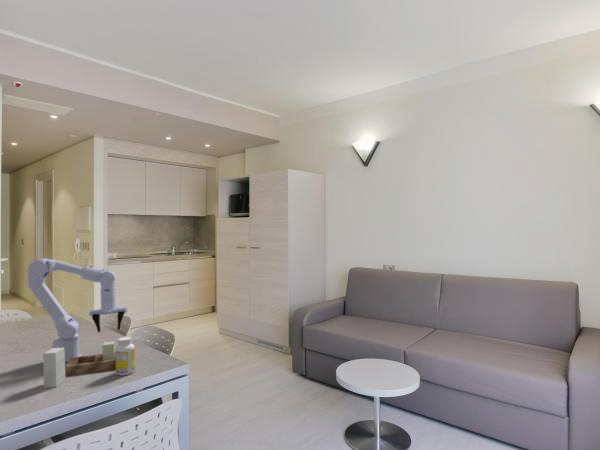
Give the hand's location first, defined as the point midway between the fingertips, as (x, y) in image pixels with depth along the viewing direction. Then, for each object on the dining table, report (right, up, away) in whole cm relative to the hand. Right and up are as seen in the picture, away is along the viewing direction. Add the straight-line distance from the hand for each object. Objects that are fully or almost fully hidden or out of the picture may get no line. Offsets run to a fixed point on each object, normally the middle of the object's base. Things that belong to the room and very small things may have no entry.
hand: (109, 330), depth 165 cm
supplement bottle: (+17, -10, -21) cm, 29 cm away
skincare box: (-3, -10, -31) cm, 33 cm away
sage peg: (+6, -10, -13) cm, 17 cm away
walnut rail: (+3, -10, -15) cm, 18 cm away
